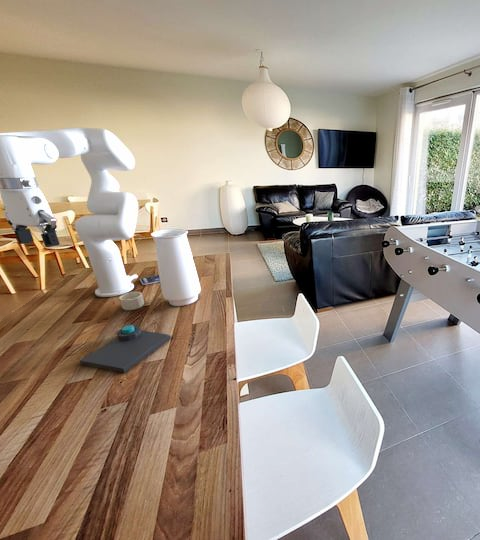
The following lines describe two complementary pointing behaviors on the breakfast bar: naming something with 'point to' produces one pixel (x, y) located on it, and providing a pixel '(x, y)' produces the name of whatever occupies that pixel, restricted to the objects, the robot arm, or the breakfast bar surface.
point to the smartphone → (150, 280)
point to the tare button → (128, 329)
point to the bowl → (131, 300)
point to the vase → (176, 267)
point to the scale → (125, 350)
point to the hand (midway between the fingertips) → (39, 244)
